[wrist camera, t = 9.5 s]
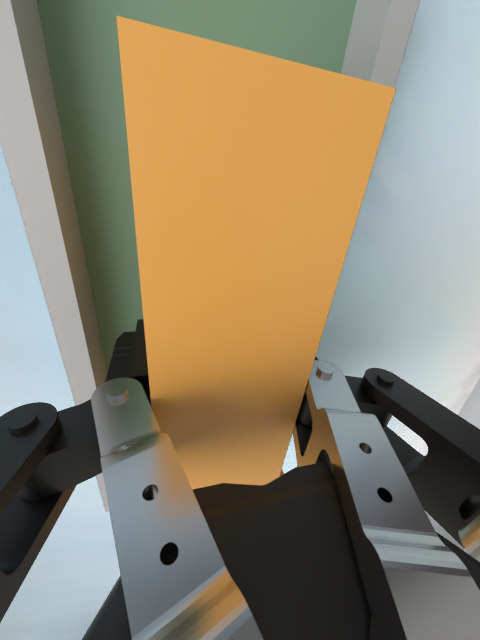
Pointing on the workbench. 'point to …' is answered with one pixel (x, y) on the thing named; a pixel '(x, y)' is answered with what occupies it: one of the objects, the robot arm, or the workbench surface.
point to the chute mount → (111, 135)
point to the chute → (238, 234)
